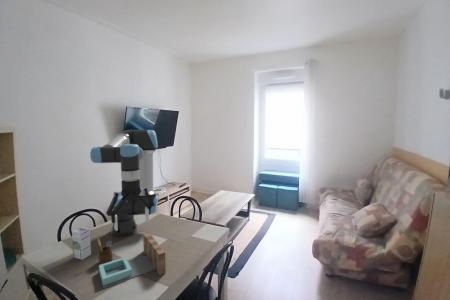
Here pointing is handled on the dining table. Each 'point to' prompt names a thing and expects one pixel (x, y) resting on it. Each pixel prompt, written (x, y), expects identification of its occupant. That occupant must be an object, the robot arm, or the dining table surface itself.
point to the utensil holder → (105, 253)
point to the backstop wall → (154, 253)
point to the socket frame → (117, 275)
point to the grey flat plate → (133, 269)
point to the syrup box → (81, 243)
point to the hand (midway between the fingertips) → (132, 225)
